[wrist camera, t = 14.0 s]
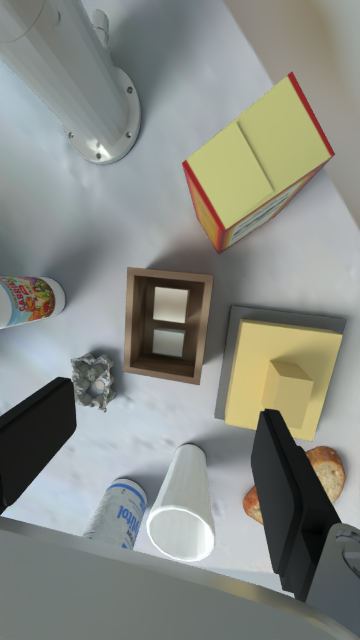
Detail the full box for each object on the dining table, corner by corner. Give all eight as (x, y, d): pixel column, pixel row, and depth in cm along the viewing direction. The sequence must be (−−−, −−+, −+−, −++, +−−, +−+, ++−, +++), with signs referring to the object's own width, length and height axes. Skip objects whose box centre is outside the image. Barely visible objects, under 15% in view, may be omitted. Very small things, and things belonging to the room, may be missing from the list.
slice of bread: (341, 444, 35) (355, 463, 32) (340, 525, 39) (353, 550, 35) (237, 442, 39) (239, 459, 35) (243, 516, 42) (246, 539, 38)
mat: (231, 305, 33) (231, 306, 32) (342, 318, 31) (346, 319, 30) (214, 414, 38) (214, 418, 37) (310, 433, 36) (313, 437, 35)
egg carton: (117, 402, 42) (106, 415, 38) (84, 396, 43) (70, 409, 39) (116, 354, 39) (105, 363, 35) (81, 350, 40) (67, 357, 36)
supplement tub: (156, 497, 44) (129, 600, 30) (131, 517, 47) (95, 620, 33) (123, 468, 44) (81, 558, 30) (100, 490, 47) (50, 581, 33)
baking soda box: (252, 178, 29) (294, 66, 14) (274, 217, 30) (338, 151, 14) (197, 218, 32) (181, 160, 16) (218, 254, 32) (222, 231, 17)
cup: (225, 466, 40) (230, 553, 27) (184, 482, 42) (171, 569, 30) (197, 426, 39) (189, 497, 27) (157, 445, 42) (132, 518, 29)
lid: (240, 318, 33) (248, 330, 25) (330, 329, 31) (370, 346, 23) (224, 412, 36) (227, 448, 29) (304, 427, 34) (330, 470, 27)
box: (144, 269, 35) (127, 267, 28) (213, 276, 33) (213, 275, 26) (139, 355, 38) (123, 371, 31) (202, 365, 36) (199, 385, 30)
